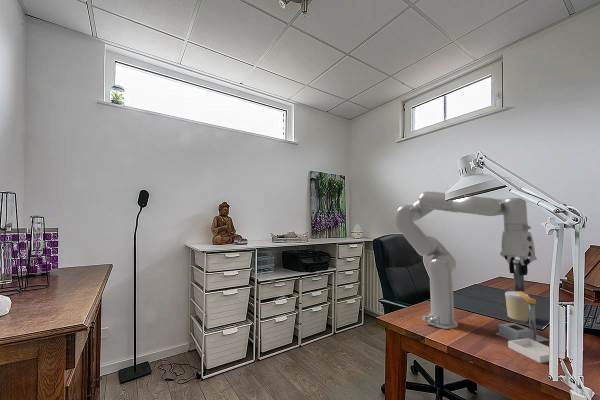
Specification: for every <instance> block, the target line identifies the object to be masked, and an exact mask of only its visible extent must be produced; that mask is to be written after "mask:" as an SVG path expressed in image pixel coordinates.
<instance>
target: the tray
mask: <svg viewBox="0 0 600 400" xmlns="http://www.w3.org/2000/svg"><path fill="white" fill-rule="evenodd" d="M507 345H508V346H507V347H508V348H509V349H511V350H513V351H515V352H517V353H518V354H520V355H523V356H525V357H527V358H529V359H532V360H533V361H535V362H537V363H538V364H544V363H549V347H550V346H548V345H546V344H543V343H541V342H536V341H534V340H532V339H529V338H525V339H519V340H512V341H510V340H508V341H507Z"/></svg>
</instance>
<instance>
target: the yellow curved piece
mask: <svg viewBox="0 0 600 400" xmlns="http://www.w3.org/2000/svg"><path fill="white" fill-rule="evenodd" d="M517 292H518V294H519V295H520V296H521V297H523V298H524V299H525V300H527V303H530V304H535V305H536V304H537V300H536V299H535V298H531V297H530V296H529V295H528V294H527V293H525V292H521V291H517ZM524 293H525V294H524ZM526 294H527V295H528V296H527V295H526Z"/></svg>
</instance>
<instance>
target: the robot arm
mask: <svg viewBox="0 0 600 400" xmlns="http://www.w3.org/2000/svg"><path fill="white" fill-rule="evenodd" d="M445 193H446V192H440V191H438V192H437V191H423V192H422V193H420V195H418V198H417V199H418V200H416V202H414V203H412V204H404V205H401V206H400V207H399V208H397V210H396V212H395V215H394V222H395V226H396V227H397V229H398V231H399V232H400V233H401V234H402V236H403V237H404V238H405V239H406V241H407V242H408V244H410V245H411V247H412V248H413V249H414V251H416V253H417V254H418V255H419V256H421V257H426V258H427V257H428V259H429V261H428V266H427V269H428V277H429V292H430V295H429V297H430V312H428V315H422V317H421V319H422V320H423V321H427V322H428V324H429V325H431V326H433V327H436V328H440V329H444V330H450V329H455V328H458V327H459V323H458V321H456V320H455V313H454V311H455V310H454V309H455V308H454V285H453V277H452V272H454V271H455V269H456V267H457V262H456V258H455V257H453V255H452V254H451V253H450V251H448V249H446V247H445V246H444V245H443V243H441V242H440V241H439V240H438V239H437V238H436V237H433V236H430V235H429V236H428V235H426V234H425V233H424V231H423V230H421V228H420V227H419V226H418V225H417V224H416V223H415V222H416V221H418V220H420V219H422V218H424V217H425V216H427V215H428V214H430V213H432V212H433V211H444V212H452V213H461V214H462V213H463V214H470V215H478V216H483V217H484V216H485V217H495V216H503V229H504V230H503V231H502V235H501V252H500V254H499V255H500V256H501V257H503V258H504V259H505V260H506V262H507V263H508V268H509V273H510V274H513V260H516V258H519V260H520V263H521V265H519V270H520V275H524V276H528V273H529V272H528V270H529V269H528V265H530V264H531V263H532V262H534V261H537V260H538V258H537V256H536V251H535V243H534V239H533V235H532V232H531V231H529V230H531V229H532V227H531V225H528V224H529V223H528V211H527V210H528V209H527V208H528V207H527V200H526V199H525V200H526V201H525V200H523V199H521V198H522V197H507V198H504V199H502V198H501V199H498V198H493V197H485V196H473V195H469V196H470V197H465V198H461V199H456V200H449V201H446V200H445Z"/></svg>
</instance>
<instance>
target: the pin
mask: <svg viewBox="0 0 600 400" xmlns="http://www.w3.org/2000/svg"><path fill="white" fill-rule="evenodd" d="M519 265H521V263H520V259H515V260H513V273H512V274H513V287H514V290H513V291H515V292H518V291H520V292H523V293H525V291H526V289H525V275H520V270H519Z"/></svg>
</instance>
